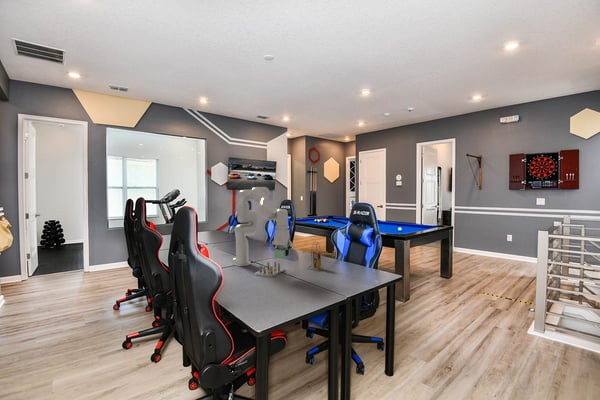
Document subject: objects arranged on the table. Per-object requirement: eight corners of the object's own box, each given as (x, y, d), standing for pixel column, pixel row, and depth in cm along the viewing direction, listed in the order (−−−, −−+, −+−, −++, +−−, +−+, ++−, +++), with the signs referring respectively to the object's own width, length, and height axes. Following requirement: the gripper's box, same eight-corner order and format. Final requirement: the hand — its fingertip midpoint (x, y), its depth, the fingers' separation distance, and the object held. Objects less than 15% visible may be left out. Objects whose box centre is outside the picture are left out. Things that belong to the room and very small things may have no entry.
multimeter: (302, 267, 216) (301, 241, 216) (313, 266, 221) (313, 240, 220) (311, 272, 203) (310, 244, 202) (323, 270, 207) (323, 243, 207)
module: (283, 258, 184) (283, 249, 184) (274, 257, 186) (274, 248, 186) (289, 254, 195) (289, 246, 195) (281, 253, 197) (281, 245, 197)
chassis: (271, 277, 193) (271, 268, 193) (254, 274, 199) (254, 266, 199) (284, 270, 209) (284, 262, 209) (268, 268, 215) (268, 260, 215)
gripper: (267, 228, 190) (268, 255, 191) (291, 229, 183) (291, 257, 184) (273, 226, 197) (273, 252, 198) (296, 228, 190) (296, 255, 190)
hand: (282, 254), depth 191 cm, fingers closed on module, 6 cm apart
